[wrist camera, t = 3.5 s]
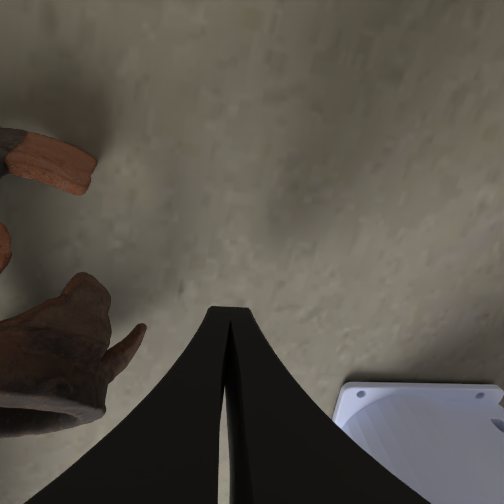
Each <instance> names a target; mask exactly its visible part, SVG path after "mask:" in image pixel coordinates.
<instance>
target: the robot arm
mask: <svg viewBox="0 0 504 504" xmlns="http://www.w3.org/2000/svg"><path fill="white" fill-rule="evenodd" d="M224 387H225V394H226V411H227V426H228V442H229V459H230V504H504V408H503V407H502V406H501V405H500V404H499V402H500V401H501V399H502V397H503V395H504V391H503V390H502V389H501V388H500V387H499V386H497V385H490V384H439V383H388V382H347V383H345V384H344V385H343V386H342V388H341V390H340V394H339V397H338V401H337V404H336V408H335V411H334V414H333V418H332V420H331V419H330V418H329V417H328V416H327V415H326V414H325V413H324V412H323V411H322V410H321V409H320V408H319V407H318V406H317V404H316V403H315V402H314V401H313V400H312V399H311V398H310V397H309V396H308V395H307V393H306V392H305V391H304V390H303V389H302V388H301V387H300V385H299V384H298V383H297V382H296V381H295V379H294V378H293V377H292V375H291V374H290V373H289V372H288V370H287V369H286V368H285V366H284V365H283V364H282V362H281V361H280V359H279V358H278V357H277V355H276V354H275V352H274V351H273V349H272V348H271V346H270V345H269V343H268V341H267V340H266V338H265V337H264V335H263V333H262V332H261V330H260V328H259V326H258V324H257V323H256V321H255V319H254V317H253V315H252V312H251V310H250V309H249V308H242V307H220V306H211V307H210V308H209V309H208V311H207V313H206V316H205V318H204V320H203V322H202V323H201V325H200V327H199V329H198V330H197V332H196V334H195V335H194V337H193V338H192V340H191V341H190V343H189V344H188V346H187V347H186V349H185V350H184V351H183V353H182V354H181V355H180V357H179V358H178V359H177V361H176V362H175V363H174V365H173V366H172V367H171V369H170V370H169V371H168V372H167V374H166V375H165V376H164V377H163V378H162V379H161V381H160V382H159V383H158V384H157V385H156V386H155V387H154V389H153V390H152V391H151V392H150V393H149V394H148V395H147V396H146V397H145V398H144V399H143V400H142V401H141V402H140V403H139V404H138V405H137V406H136V407H135V408H134V409H133V410H132V411H131V412H130V413H129V415H128V416H127V417H126V418H124V419H123V420H122V421H121V422H120V423H119V424H118V425H117V426H116V427H115V428H114V429H113V430H112V431H111V432H110V433H108V434H107V435H106V436H105V437H104V438H103V439H102V440H100V441H99V442H98V443H97V444H96V445H95V446H94V447H92V448H91V449H90V450H89V451H88V452H87V453H86V454H84V455H83V456H82V457H81V458H80V459H79V460H78V461H76V462H75V463H74V464H73V465H72V466H71V467H69V468H68V469H67V470H66V471H65V472H63V473H62V474H61V475H60V476H59V477H57V478H56V479H55V480H53V481H52V482H51V483H50V484H48V485H47V486H46V487H44V488H43V489H42V490H41V491H39V492H38V493H37V494H35V495H34V496H33V497H32V498H30V499H29V500H28V501H26V502H25V503H24V504H218V467H219V431H220V418H221V411H222V403H223V395H224Z"/></svg>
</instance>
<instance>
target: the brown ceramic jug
mask: <svg viewBox="0 0 504 504" xmlns="http://www.w3.org/2000/svg"><path fill="white" fill-rule="evenodd" d="M96 165H97V162H96V160H95V159H94V158H93V157H92V156H91V155H89V154H87V153H85V152H83V151H82V150H80V149H78V148H76V147H74V146H72V145H69V144H67V143H64V142H62V141H60V140H57V139H54V138H51V137H47V136H44V135H40V134H37V133H30V132H26V131H24V130H19V129H11V128H0V178H1V177H3V176H5V175H6V174H13V175H17V176H20V177H24V178H29V179H33V180H36V181H38V182H41V183H46V184H48V185H51V186H53V187H56V188H59V189H61V190H64V191H66V192H69V193H71V194H73V195H83V194H84V193H85V192H86V191H87V189H88V187H89V185H90V183H91V174H92V173H93V171H94V169H95V167H96ZM10 244H11V240H10V235H9V232H8V230H7V228H6V226H5V225H4V224H3V223H2V222H0V273H1V272H2V271H3V270H4V269H5V268H6V266H7V265H8V263H9V261H10V259H11V256H12V252H11V249H10ZM110 304H111V297H110V294H109V292H108V291H107V290H106V289H105V287H104V286H103V285H102V284H100V283H99V282H98V280H97V279H96V278H94V277H93V276H92V275H90V274H87V273H85V272H80V273H77V274H76V275H75V276H74V277H73V278H72V279H71V280H70V281H69V282H68V284H67V285H66V287H65V288H64V289H63V291H62V293H61V295H60V296H59V297H57V298H54V299H50V300H47V301H45V302H44V303H42V304H41V305H39V306H36V307H34V308H33V309H31V310H29V311H27V312H25V313H22V314H20V315H18V316H16V317H14V318H11V319H7V320H3V321H0V438H8V437H20V436H23V435H32V434H34V435H37V434H45V433H50V432H56V431H60V430H64V429H68V428H73V427H75V426H79V425H82V424H86V423H91V422H93V421H94V420H97V419H100V418H102V416H103V415H104V414H105V412H106V406H105V398H106V393H107V387H108V384H109V383H110V382H111V381H113V379H114V378H115V377H116V376H117V375H118V374H119V373H120V372H122V371H123V370H124V369H125V368H126V367H127V365H128V364H129V362H130V361H131V359H132V358H133V356H134V355H135V353H136V351H137V350H138V348H139V346H140V345H141V342H142V340H143V337H144V334H145V332H146V329H147V326H146V325H145V324H143V323H141V324H138V325H136V327H135V328H134V329H133V330H132V331H131V332H130V333H129V335H128V336H127V337H126V338H124V339H123V340H122V341H121V342H119V343H117V344H116V345H114V346H113V347H111V348H110V349H108V350H107V348H108V347H109V345H110V337H111V333H112V331H111V324H110V320H109V316H108V311H109V307H110Z"/></svg>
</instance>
